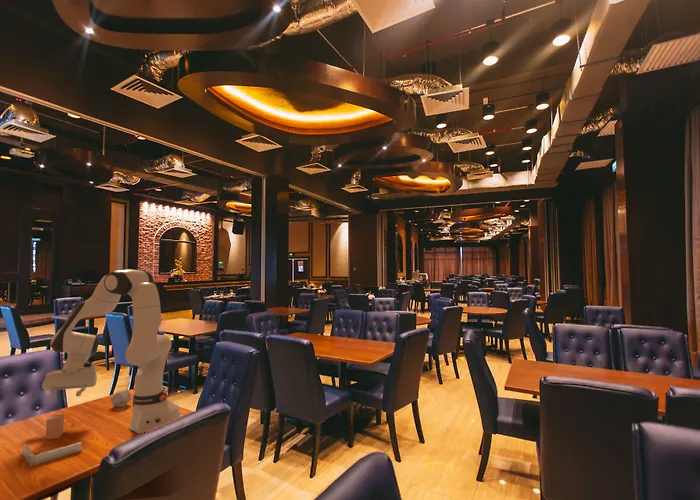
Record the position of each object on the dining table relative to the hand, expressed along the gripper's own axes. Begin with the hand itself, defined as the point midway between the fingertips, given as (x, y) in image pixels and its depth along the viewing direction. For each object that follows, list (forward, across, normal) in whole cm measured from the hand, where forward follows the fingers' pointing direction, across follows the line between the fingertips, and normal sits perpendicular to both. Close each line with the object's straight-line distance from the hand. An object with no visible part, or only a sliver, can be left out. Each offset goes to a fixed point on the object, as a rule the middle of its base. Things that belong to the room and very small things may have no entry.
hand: (65, 396), depth 165 cm
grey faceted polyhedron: (-5, +18, +23) cm, 30 cm away
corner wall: (+28, +6, -10) cm, 31 cm away
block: (+16, 0, +2) cm, 16 cm away
